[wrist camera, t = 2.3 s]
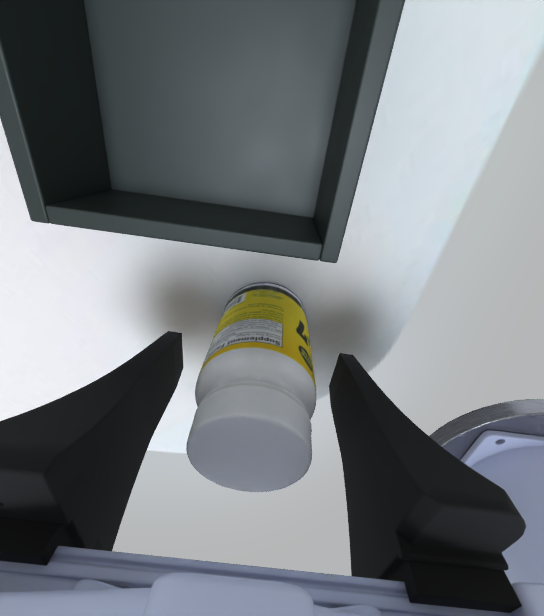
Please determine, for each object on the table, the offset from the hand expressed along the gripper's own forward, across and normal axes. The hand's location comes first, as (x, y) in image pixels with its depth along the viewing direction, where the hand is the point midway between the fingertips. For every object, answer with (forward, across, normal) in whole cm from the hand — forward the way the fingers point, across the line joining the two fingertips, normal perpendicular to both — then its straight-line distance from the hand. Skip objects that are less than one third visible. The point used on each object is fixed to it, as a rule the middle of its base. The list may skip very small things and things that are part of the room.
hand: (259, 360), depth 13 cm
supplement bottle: (+4, 0, 0) cm, 4 cm away
